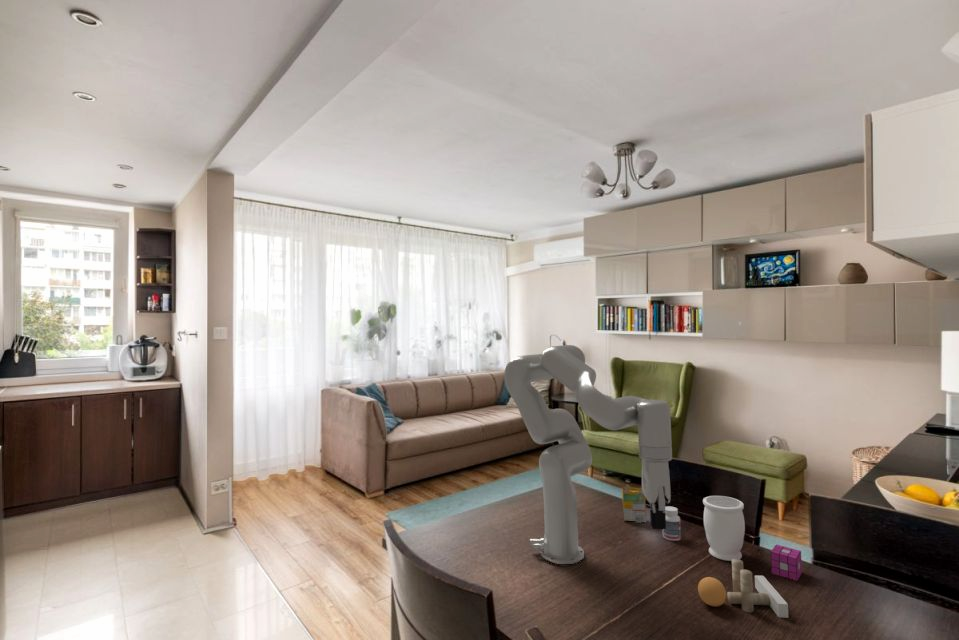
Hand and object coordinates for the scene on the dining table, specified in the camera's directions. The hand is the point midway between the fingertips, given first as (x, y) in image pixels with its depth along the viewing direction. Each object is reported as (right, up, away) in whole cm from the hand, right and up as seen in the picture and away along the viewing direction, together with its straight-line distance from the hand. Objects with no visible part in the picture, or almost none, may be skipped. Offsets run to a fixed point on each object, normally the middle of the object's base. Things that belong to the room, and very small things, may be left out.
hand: (658, 527), depth 113 cm
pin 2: (+19, -16, -5) cm, 25 cm away
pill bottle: (+16, -17, +32) cm, 40 cm away
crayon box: (+9, -18, +45) cm, 49 cm away
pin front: (+16, -15, -3) cm, 22 cm away
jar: (+27, -17, +20) cm, 37 cm away
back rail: (+25, -16, -3) cm, 30 cm away
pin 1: (+19, -17, -1) cm, 25 cm away
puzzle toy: (+37, -16, +9) cm, 42 cm away
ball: (+11, -14, -3) cm, 18 cm away
